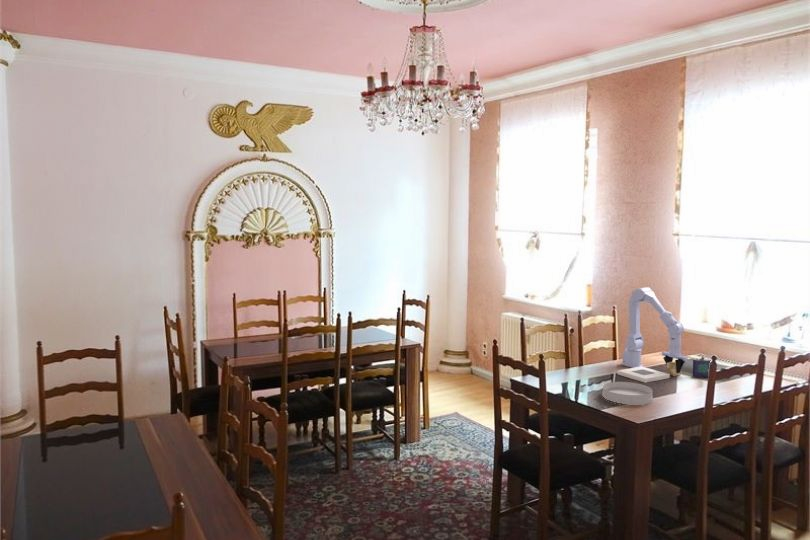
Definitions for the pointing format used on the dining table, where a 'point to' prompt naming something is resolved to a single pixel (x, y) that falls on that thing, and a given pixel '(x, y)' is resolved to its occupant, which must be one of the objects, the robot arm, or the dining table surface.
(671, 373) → the block
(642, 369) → the plinth
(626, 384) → the dish
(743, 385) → the dining table surface
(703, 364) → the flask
